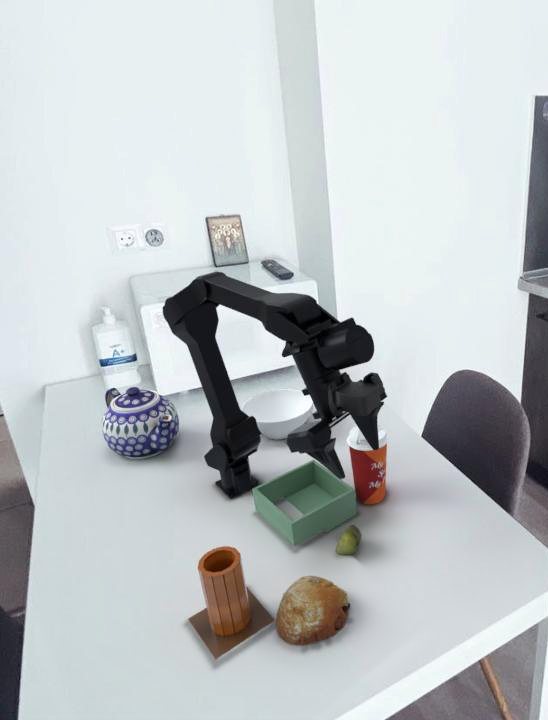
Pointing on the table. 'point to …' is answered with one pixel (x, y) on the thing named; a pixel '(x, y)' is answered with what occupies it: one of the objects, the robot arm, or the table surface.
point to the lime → (349, 541)
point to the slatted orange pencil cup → (224, 590)
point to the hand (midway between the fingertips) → (360, 463)
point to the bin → (306, 501)
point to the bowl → (279, 411)
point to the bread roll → (311, 611)
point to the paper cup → (368, 466)
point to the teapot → (139, 422)
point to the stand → (225, 643)
